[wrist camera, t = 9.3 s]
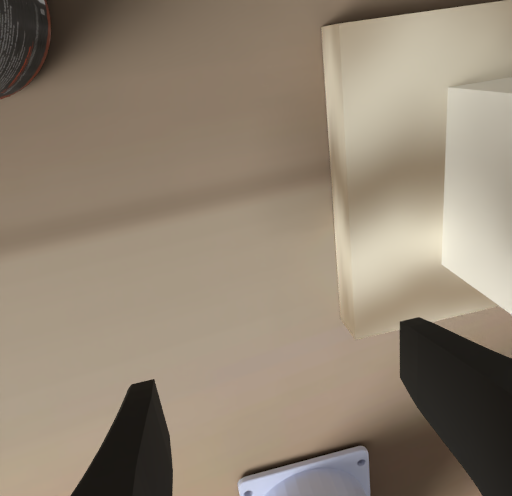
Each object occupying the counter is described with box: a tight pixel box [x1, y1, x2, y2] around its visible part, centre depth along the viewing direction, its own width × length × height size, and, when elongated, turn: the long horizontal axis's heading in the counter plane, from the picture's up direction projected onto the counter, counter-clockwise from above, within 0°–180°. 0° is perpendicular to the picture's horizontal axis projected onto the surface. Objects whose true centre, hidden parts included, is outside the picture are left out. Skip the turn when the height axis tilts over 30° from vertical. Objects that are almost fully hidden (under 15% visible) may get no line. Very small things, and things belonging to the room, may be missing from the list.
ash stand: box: [321, 0, 512, 340], centre depth 22 cm, size 14×14×2 cm
